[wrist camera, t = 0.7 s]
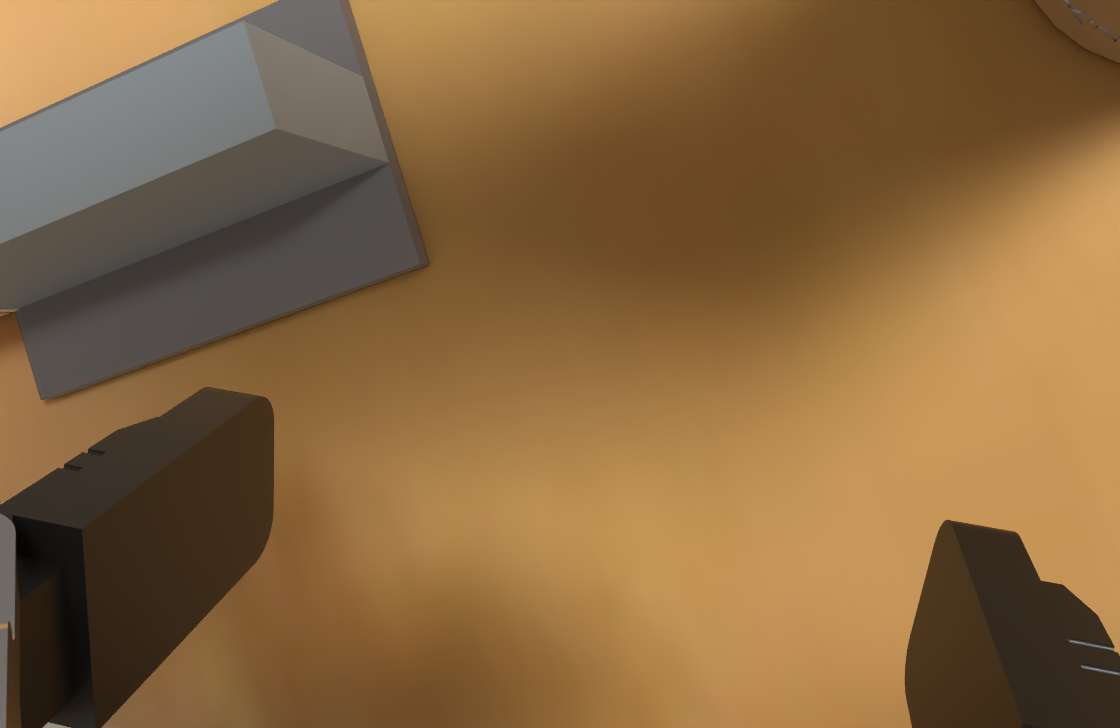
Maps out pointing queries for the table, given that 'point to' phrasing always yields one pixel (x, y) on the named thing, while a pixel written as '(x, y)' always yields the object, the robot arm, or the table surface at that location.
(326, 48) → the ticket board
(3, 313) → the stub
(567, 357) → the table surface
